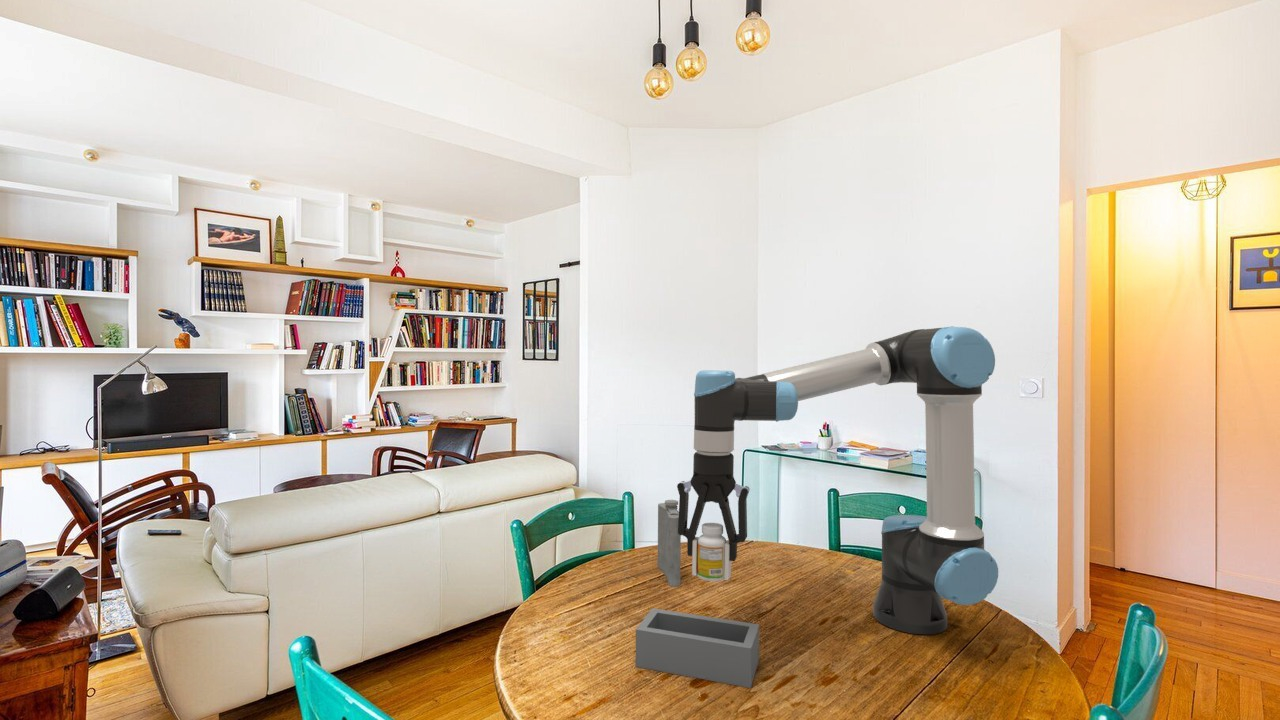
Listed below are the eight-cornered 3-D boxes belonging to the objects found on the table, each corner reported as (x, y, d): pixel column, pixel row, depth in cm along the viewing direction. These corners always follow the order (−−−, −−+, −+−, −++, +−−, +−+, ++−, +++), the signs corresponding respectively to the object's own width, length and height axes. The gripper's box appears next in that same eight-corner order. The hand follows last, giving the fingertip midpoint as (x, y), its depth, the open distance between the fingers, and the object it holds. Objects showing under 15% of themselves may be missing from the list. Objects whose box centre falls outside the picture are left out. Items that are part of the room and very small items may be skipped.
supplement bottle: (707, 569, 117) (708, 519, 117) (731, 576, 114) (732, 525, 114) (691, 577, 113) (692, 525, 113) (716, 584, 109) (717, 531, 109)
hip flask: (656, 565, 168) (657, 494, 168) (670, 564, 169) (671, 493, 169) (669, 586, 153) (670, 508, 153) (685, 586, 153) (685, 507, 153)
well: (758, 660, 116) (759, 624, 116) (750, 688, 106) (751, 648, 106) (652, 642, 123) (652, 608, 123) (635, 666, 113) (635, 629, 113)
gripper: (765, 452, 114) (763, 574, 114) (671, 446, 120) (669, 562, 120) (760, 458, 107) (758, 589, 107) (661, 451, 112) (658, 575, 113)
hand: (711, 575), depth 113 cm, fingers closed on supplement bottle, 5 cm apart
